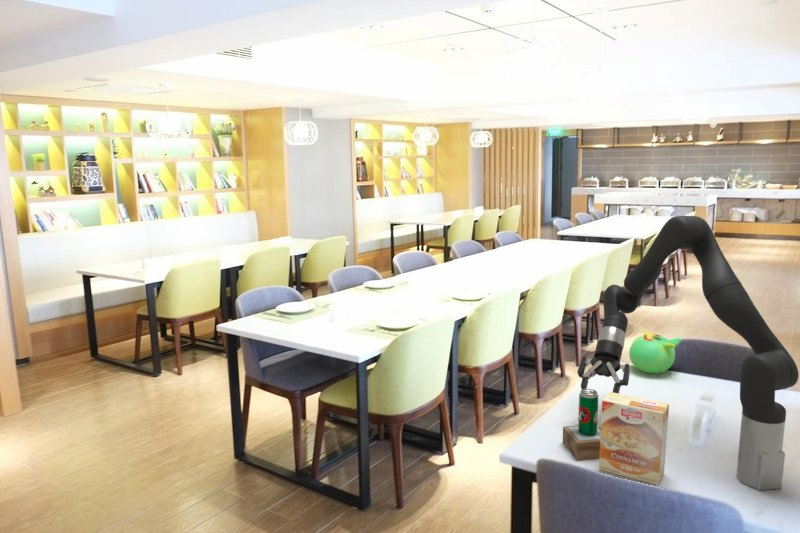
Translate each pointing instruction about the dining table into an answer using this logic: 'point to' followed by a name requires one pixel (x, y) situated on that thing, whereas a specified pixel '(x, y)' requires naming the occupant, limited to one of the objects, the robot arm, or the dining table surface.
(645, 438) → the coffeecake box
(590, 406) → the soda can
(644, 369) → the toy bird
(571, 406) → the dining table surface
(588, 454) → the walnut plinth
